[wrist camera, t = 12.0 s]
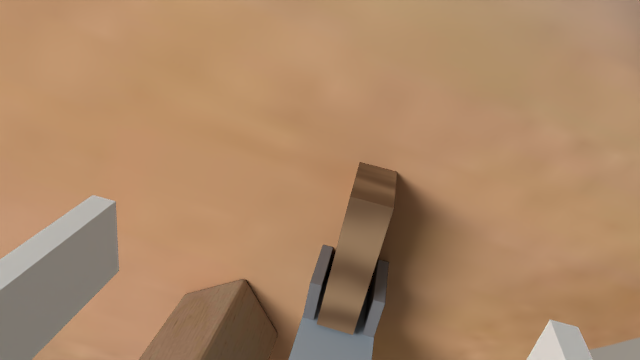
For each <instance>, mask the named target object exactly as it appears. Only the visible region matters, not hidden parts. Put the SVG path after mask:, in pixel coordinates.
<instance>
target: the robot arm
mask: <svg viewBox="0 0 640 360" xmlns="http://www.w3.org/2000/svg"><path fill="white" fill-rule="evenodd" d="M118 271H119V262H118V240H117V219H116V201H113V200H109V199H105V198H102V197H98V196H94V195H92V196H91V197H89V198H88V199H86V200H85V201H83V202H82V203H81V204H79V205H78V206H76V207H75V208H73V209H72V210H71V211H69V212H68V213H66V214H65V215H63V216H62V217H60V218H59V219H58V220H56V221H55V222H53V223H52V224H50V225H49V226H48V227H46V228H45V229H43V230H42V231H40V232H39V233H37V234H36V235H35V236H33V237H32V238H30V239H29V240H27V241H26V242H25V243H23V244H22V245H20V246H19V247H17V248H16V249H14V250H13V251H12V252H10V253H9V254H7V255H6V256H4V257H3V258H2V259H0V360H31V359H32V358H33V357H34V356H35V355H36V354H37V353H38V352H39V351H40V350H41V349H42V348H43V347H44V346H45V345H46V344H47V343H48V342H49V341H50V340H51V339H52V338H53V337H54V336H55V335H56V334H57V333H58V332H59V331H60V330H61V329H62V328H63V327H64V326H65V325H66V324H67V323H68V322H69V321H70V320H71V319H72V318H73V317H74V316H75V315H76V314H77V313H78V312H79V311H80V310H81V309H82V308H83V307H84V306H85V305H86V304H87V303H88V302H89V301H90V300H91V299H92V298H93V297H94V296H95V295H96V294H97V293H98V292H99V291H100V290H101V289H102V288H103V286H104V285H105V284H106V283H107V282H108V281H109V280H110V279H111V278H112V277H113V276H114V275H115V274H116V273H117V272H118ZM527 360H593V358H592V356H591V354H590V352H589V350H588V348H587V345H586V343H585V341H584V339H583V337H582V334H581V332H580V330H579V328H578V327H576V326H572V325H569V324H565V323H561V322H558V321H554V320H549V322H548V324H547V326H546V327H545V329H544V331H543V332H542V334H541V336H540V337H539V339H538V341H537V343H536V344H535V346H534V348H533V349H532V351H531V353H530V355H529V356H528V358H527Z"/></svg>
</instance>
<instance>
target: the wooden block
mask: <svg viewBox="0 0 640 360" xmlns="http://www.w3.org/2000/svg"><path fill="white" fill-rule="evenodd" d="M276 338H277V332H276V331H275V329H274V327H273V326H272V324H271V322H270V320H269V319H268V317H267V315H266V314H265V312H264V310H263V309H262V307H261V305H260V304H259V302H258V300H257V299H256V297H255V295H254V293H253V292H252V290H251V288H250V287H249V285H248V283H247V282H246V280H244V279H242V280H238V281H234V282H230V283H226V284H222V285H219V286H215V287H211V288H207V289H203V290H200V291H196V292H192V293H188V294H186V295H184V297H183V298H182V299H181V301H180V302H179V304H178V305H177V306H176V308H175V309H174V311H173V312H172V314H171V315H170V316H169V318H168V319H167V321H166V322H165V323H164V325H163V326H162V328H161V329H160V330H159V332H158V333H157V335H156V336H155V337H154V339H153V340H152V342H151V343H150V345H149V346H148V347H147V349H146V350H145V352H144V353H143V354H142V356H141V357H140V359H139V360H268V359H269V357H270V354H271V351H272V349H273V346H274V343H275V341H276Z"/></svg>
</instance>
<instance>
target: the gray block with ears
mask: <svg viewBox="0 0 640 360" xmlns="http://www.w3.org/2000/svg"><path fill="white" fill-rule="evenodd" d="M332 249H333V247H330V246H326V245H323V246H322V249H321V252H320V255H319V258H318V261H317V264H316V267H315V270H314V273H313V276H312V279H311V282H310V287H309V291H308V296H307V300H306V305H305V309H304V313H303V317H302V320H301V323H300V326H299V329H298V332H297V335H296V338H295V341H294V344H293V347H292V350H291V354H290V357H289V360H372V351H373V342H374V335H375V332H376V329H377V326H378V323H379V320H380V317H381V314H382V311H383V308H384V305H385V299H386V287H387V276H388V265H389V262H386V261H382V260H378V263H377V267H376V270H375V273H374V276H373V280H372V283H371V286H370V289H369V292H368V291H367V293H366V296H365V299H364V303H363V306H362V309H361V312H360V315H359V318H358V321H357V324H356V327H355V330H354V333H353V335H351V334H348V333H344V332H341V331H338V330H334V329H331V328H327V327H324V326H321V325H317V321H318V313H319V310H320V306H321V303H322V299H323V295H324V292H325V288H326V285H327V281H328V280H325V278H326V274H327V270H328V266H329V262H330V257H331V253H332Z"/></svg>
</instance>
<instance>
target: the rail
mask: <svg viewBox="0 0 640 360" xmlns="http://www.w3.org/2000/svg"><path fill="white" fill-rule="evenodd" d="M396 178H397V172H396V171H392V170H388V169H384V168H381V167H377V166H373V165H369V164H365V163H362V162H360V163H359V167H358V171H357V174H356V178H355V181H354V185H353V188H352V192H351V196H350V199H349V203H348V207H347V211H346V214H345V218H344V222H343V226H342V230H341V233H340V237H339V241H338V245H337V249H336V252H335V256H334V260H333V264H332V268H331V271H330V275H329V278H328V281H327V285H326V288H325V292H324V295H323V299H322V303H321V306H320V310H319V313H318V321H317V325H321V326H324V327H327V328H331V329H334V330H338V331H341V332H344V333H348V334H351V335H353V333H354V330H355V327H356V324H357V321H358V318H359V315H360V312H361V309H362V306H363V303H364V299H365V296H366V293H367V290H368V287H369V284H370V281H371V278H372V275H373V272H374V269H375V266H376V262H377V259H378V256H379V253H380V250H381V247H382V244H383V241H384V238H385V235H386V232H387V228H388V225H389V222H390V219H391V216H392V213H393V210H394V203H395V190H396Z"/></svg>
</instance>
